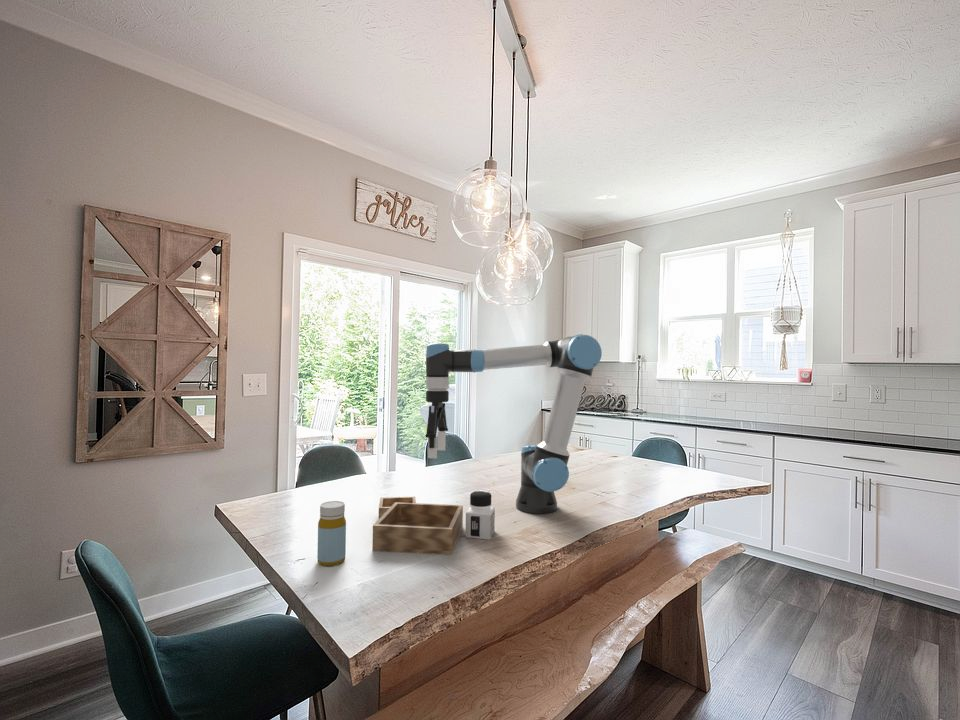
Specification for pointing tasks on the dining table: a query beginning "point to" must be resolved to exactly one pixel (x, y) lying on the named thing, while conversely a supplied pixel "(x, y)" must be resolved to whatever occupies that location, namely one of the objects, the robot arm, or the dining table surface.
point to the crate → (419, 528)
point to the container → (480, 516)
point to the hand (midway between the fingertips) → (437, 454)
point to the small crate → (389, 501)
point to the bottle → (331, 534)
